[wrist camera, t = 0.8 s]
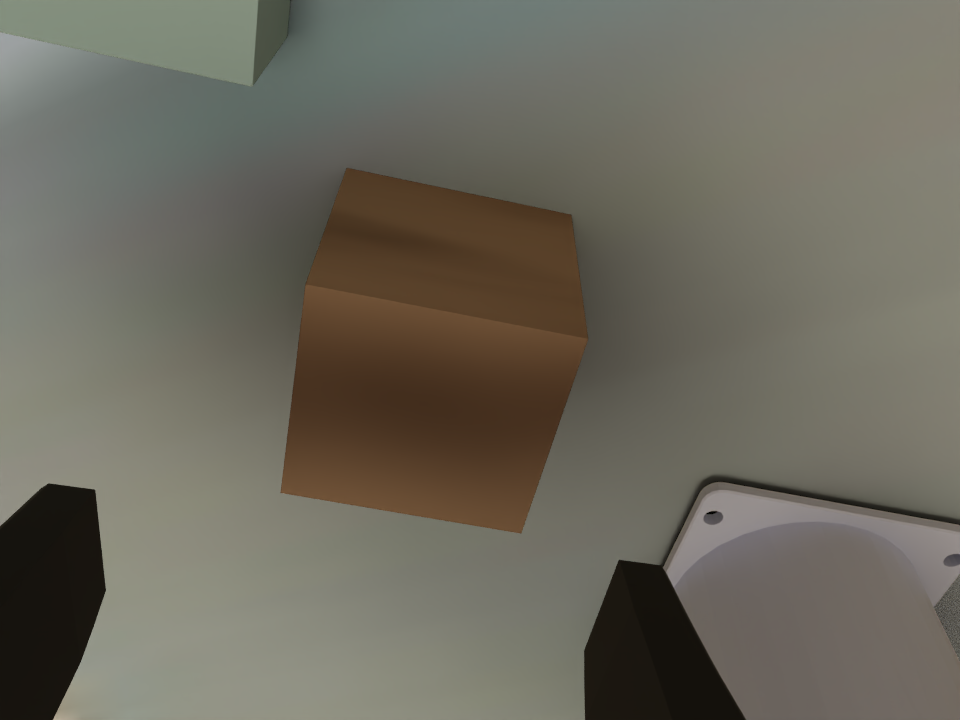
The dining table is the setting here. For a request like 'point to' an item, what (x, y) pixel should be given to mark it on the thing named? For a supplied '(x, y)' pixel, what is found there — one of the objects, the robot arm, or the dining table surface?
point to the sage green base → (161, 31)
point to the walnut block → (434, 353)
